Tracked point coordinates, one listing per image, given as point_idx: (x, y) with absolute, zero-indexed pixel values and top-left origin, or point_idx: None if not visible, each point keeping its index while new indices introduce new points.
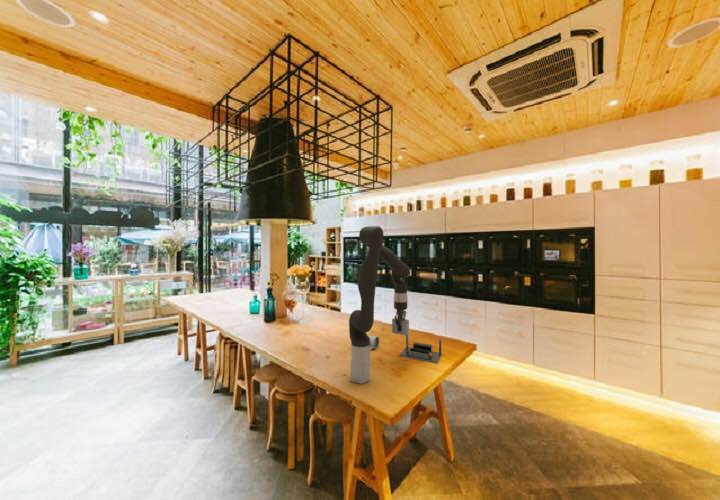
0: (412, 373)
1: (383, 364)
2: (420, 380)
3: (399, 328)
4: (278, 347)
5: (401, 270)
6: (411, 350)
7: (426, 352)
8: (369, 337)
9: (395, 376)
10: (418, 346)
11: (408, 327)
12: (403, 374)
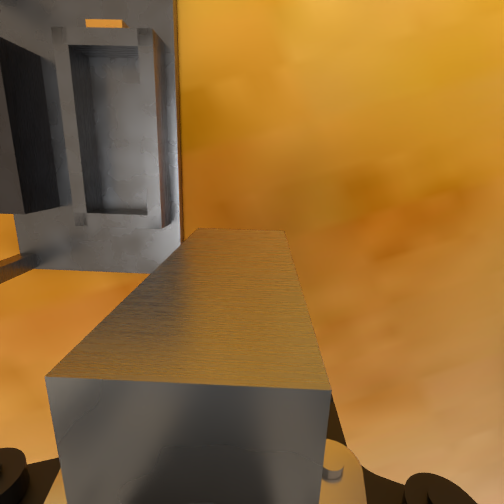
0: (408, 119)
1: (346, 320)
2: (494, 39)
3: (333, 413)
4: None
5: None
6: (96, 209)
7: (79, 80)
8: None
9: (482, 209)
10: (27, 164)
11: (210, 263)
12: (440, 171)
